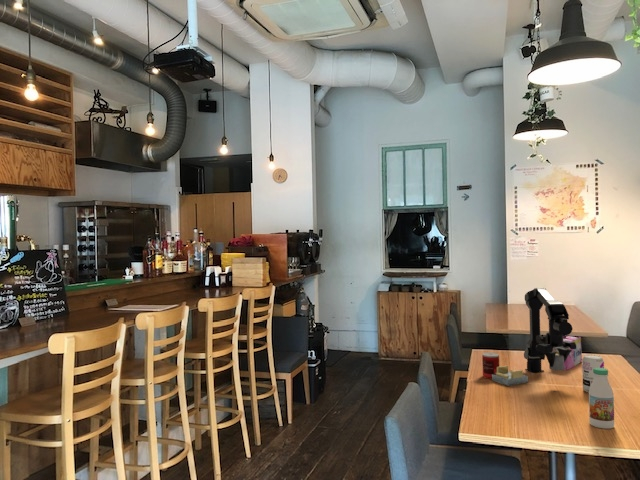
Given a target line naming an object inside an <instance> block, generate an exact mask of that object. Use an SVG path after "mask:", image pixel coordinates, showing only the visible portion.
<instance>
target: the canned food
mask: <svg viewBox="0 0 640 480" xmlns="http://www.w3.org/2000/svg"><path fill="white" fill-rule="evenodd" d="M481 358H482V360H481V361H482V376H483V378H485V379H489V380H492V374H496V372H497V367H500V354H499V353H496V352H490V351H489V352H483V353H482V357H481Z"/></svg>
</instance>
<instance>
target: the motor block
mask: <svg viewBox="0 0 640 480" xmlns="http://www.w3.org/2000/svg"><path fill="white" fill-rule="evenodd" d="M528 380H529V379H528V375H525V373H524V371H523V370H522V369H519V370H518V369H517V370H514V369H510V371H509V365H502V366H501V365H499V367H497V372H496V374H492V379H491V381H493V382H495V383H498V384H501V385H504V386H507V387H509V386H516V385H521V384H527V383H528V384H529V381H528Z"/></svg>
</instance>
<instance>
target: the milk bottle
mask: <svg viewBox="0 0 640 480" xmlns="http://www.w3.org/2000/svg"><path fill="white" fill-rule="evenodd" d="M593 373H594V374H593V375H594V379H593V382H592V384H591V386H590V389H589V393H588V408H589V409H588V413H589V414H588V418H589V419H588V420H589V424H590V425H591V426H593V427H594V428H597V429H604V430H610V429H613V428H614V427H615V404H614V403H615V402H614V401H615V400H614V399H615V398H614V391H613V389H612V386H611V385H610V381H609V380H608V379H609V378H608V377H609V370H608V369H607V368H605V367H604V368H594V369H593Z"/></svg>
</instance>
